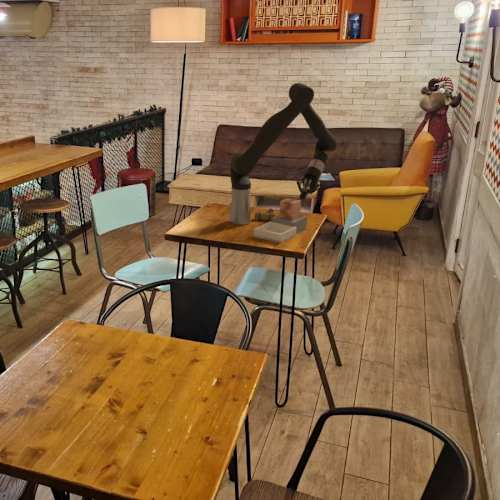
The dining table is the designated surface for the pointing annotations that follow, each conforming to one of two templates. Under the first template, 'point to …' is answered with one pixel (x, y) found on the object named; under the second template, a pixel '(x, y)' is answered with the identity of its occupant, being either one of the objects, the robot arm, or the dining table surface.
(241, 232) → the dining table surface
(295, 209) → the terracotta block
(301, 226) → the grey platform
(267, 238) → the box
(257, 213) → the gavel
